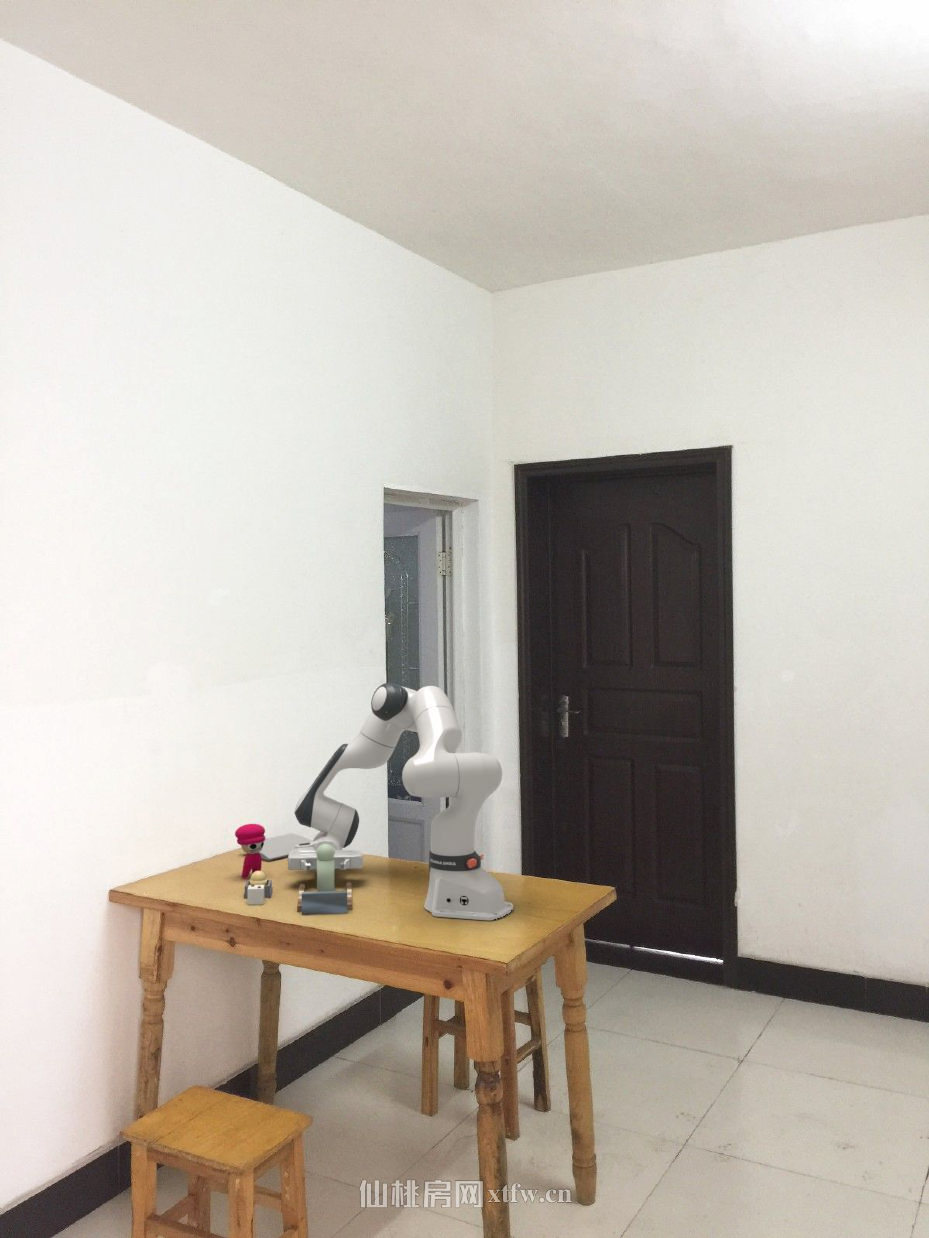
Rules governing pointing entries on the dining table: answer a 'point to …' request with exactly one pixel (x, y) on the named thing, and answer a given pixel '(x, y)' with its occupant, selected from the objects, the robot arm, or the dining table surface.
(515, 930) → the dining table surface
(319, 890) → the pawn
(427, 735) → the robot arm
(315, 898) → the track
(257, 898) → the die
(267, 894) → the base
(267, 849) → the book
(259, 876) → the dome
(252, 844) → the toy
